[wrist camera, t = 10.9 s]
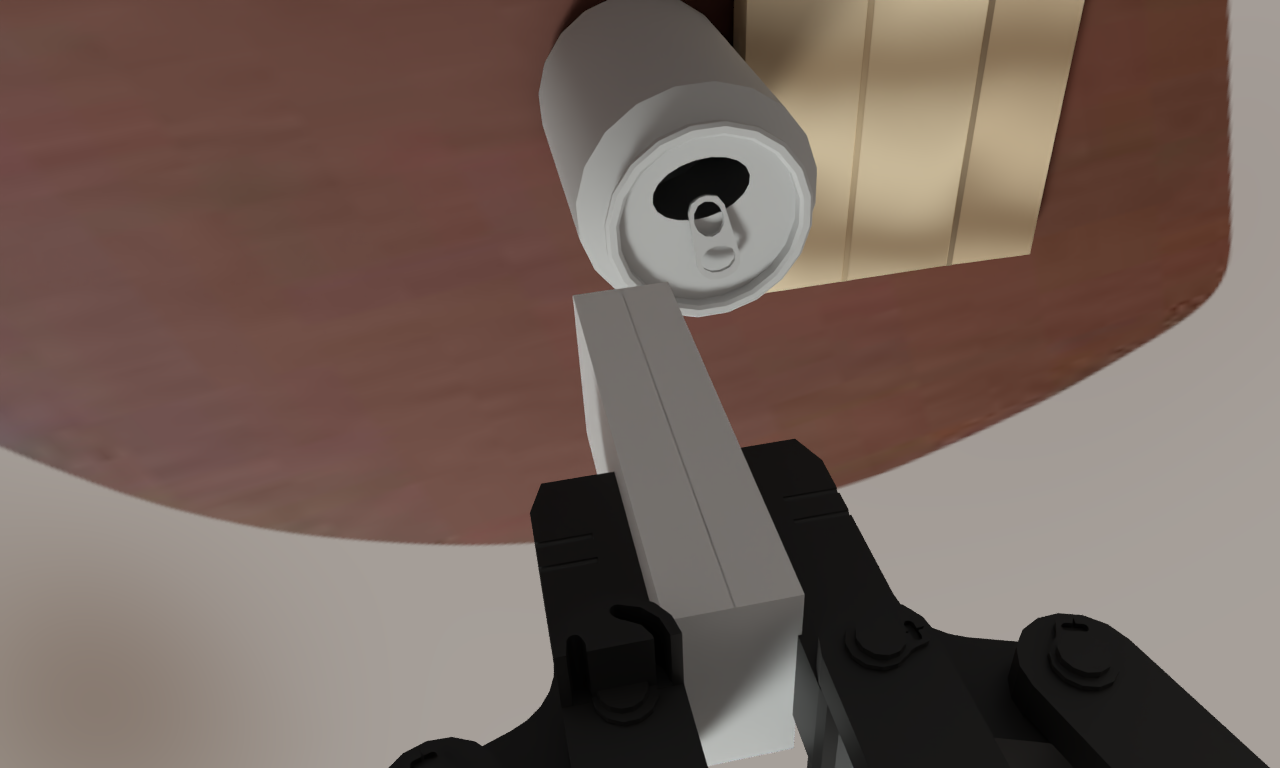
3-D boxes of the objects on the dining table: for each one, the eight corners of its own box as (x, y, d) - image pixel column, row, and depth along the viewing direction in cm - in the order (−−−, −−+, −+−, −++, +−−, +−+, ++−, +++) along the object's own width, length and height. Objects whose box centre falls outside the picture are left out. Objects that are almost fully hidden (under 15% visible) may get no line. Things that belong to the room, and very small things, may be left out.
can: (710, -40, 37) (823, 68, 27) (742, 149, 41) (849, 298, 31) (510, 19, 36) (553, 148, 27) (565, 201, 41) (618, 368, 31)
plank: (739, -264, 32) (754, -261, 31) (1009, -279, 34) (1034, -277, 33) (728, 280, 44) (739, 297, 43) (929, 249, 46) (946, 265, 44)
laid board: (1011, -279, 34) (1034, -277, 33) (1119, -285, 35) (1146, -283, 33) (931, 249, 46) (945, 265, 44) (1013, 238, 46) (1030, 254, 45)
